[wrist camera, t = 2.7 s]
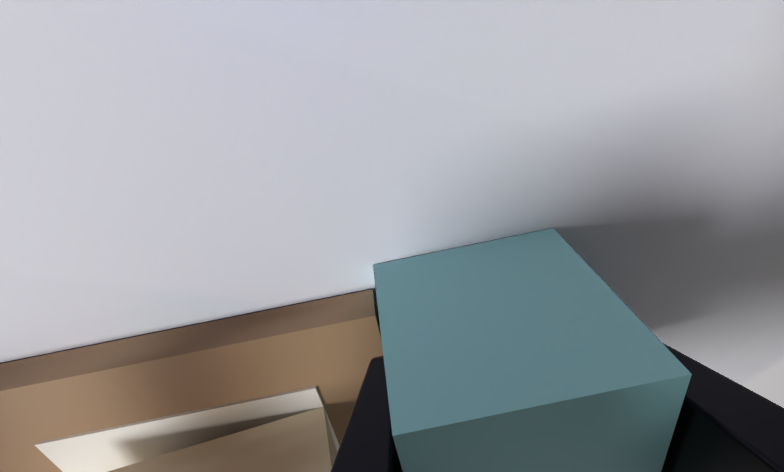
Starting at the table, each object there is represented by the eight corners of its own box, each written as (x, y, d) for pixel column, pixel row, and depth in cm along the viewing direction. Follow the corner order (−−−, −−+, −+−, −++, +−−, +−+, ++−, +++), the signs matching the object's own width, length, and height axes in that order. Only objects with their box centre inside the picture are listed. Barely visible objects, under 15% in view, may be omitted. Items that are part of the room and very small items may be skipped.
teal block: (553, 227, 10) (692, 374, 6) (548, 355, 12) (645, 521, 8) (372, 264, 10) (392, 436, 6) (401, 385, 12) (429, 565, 8)
